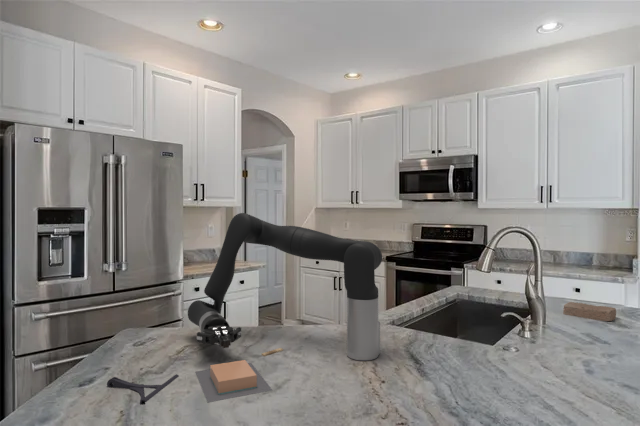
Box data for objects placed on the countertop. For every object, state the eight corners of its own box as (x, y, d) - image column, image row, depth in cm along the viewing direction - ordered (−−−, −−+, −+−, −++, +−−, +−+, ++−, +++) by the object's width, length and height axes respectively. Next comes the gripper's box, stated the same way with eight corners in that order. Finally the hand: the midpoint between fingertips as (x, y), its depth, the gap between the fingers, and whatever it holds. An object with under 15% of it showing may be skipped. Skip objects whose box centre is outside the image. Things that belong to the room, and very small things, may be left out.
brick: (562, 314, 171) (562, 303, 171) (569, 311, 177) (569, 300, 177) (610, 323, 159) (610, 311, 159) (616, 319, 165) (616, 307, 164)
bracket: (127, 376, 111) (127, 366, 111) (179, 380, 108) (179, 370, 108) (87, 402, 96) (87, 390, 96) (146, 407, 94) (146, 395, 94)
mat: (251, 364, 117) (251, 362, 117) (272, 392, 100) (272, 390, 100) (195, 373, 111) (195, 371, 111) (207, 405, 93) (207, 402, 93)
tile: (245, 359, 111) (256, 375, 101) (245, 371, 111) (256, 387, 101) (210, 365, 107) (218, 381, 97) (210, 377, 107) (218, 394, 97)
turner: (278, 350, 129) (278, 347, 129) (285, 353, 126) (285, 349, 126) (242, 361, 119) (242, 358, 119) (248, 364, 117) (248, 361, 117)
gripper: (190, 316, 123) (200, 333, 107) (235, 311, 128) (251, 326, 113) (190, 342, 123) (200, 362, 107) (235, 336, 129) (251, 354, 113)
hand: (226, 344), depth 110 cm, fingers closed
